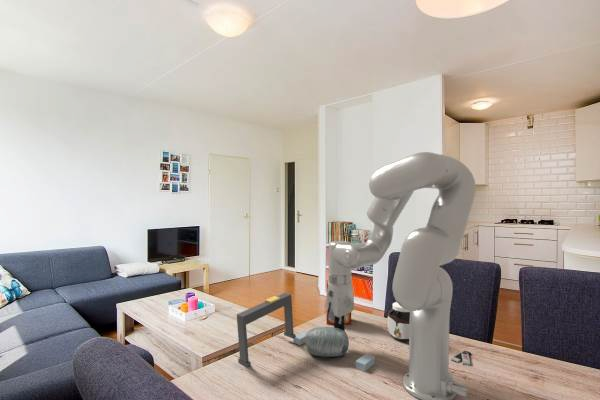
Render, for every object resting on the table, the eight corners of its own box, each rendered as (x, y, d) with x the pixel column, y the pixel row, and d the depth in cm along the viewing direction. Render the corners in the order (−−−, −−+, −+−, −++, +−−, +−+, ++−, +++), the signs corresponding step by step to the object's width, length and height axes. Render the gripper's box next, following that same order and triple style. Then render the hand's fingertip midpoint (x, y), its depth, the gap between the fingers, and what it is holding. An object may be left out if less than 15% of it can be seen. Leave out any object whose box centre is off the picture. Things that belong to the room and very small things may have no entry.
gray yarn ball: (351, 337, 104) (343, 315, 100) (353, 363, 95) (344, 341, 91) (311, 342, 107) (302, 322, 103) (310, 369, 98) (300, 347, 94)
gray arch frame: (247, 367, 91) (244, 315, 90) (238, 362, 94) (234, 312, 93) (295, 337, 107) (293, 292, 105) (286, 333, 109) (283, 290, 108)
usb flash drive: (464, 353, 101) (464, 349, 101) (481, 359, 97) (481, 356, 97) (450, 361, 96) (450, 357, 96) (468, 368, 92) (468, 365, 92)
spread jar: (384, 334, 114) (384, 302, 114) (406, 328, 119) (406, 298, 119) (410, 348, 103) (410, 313, 103) (433, 341, 109) (433, 307, 109)
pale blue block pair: (374, 363, 94) (374, 356, 94) (364, 371, 89) (364, 364, 89) (304, 336, 112) (304, 331, 112) (293, 342, 107) (293, 336, 107)
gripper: (335, 285, 96) (335, 345, 96) (361, 276, 107) (361, 330, 107) (316, 280, 101) (316, 338, 101) (343, 273, 112) (342, 324, 112)
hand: (339, 334), depth 104 cm, fingers closed
